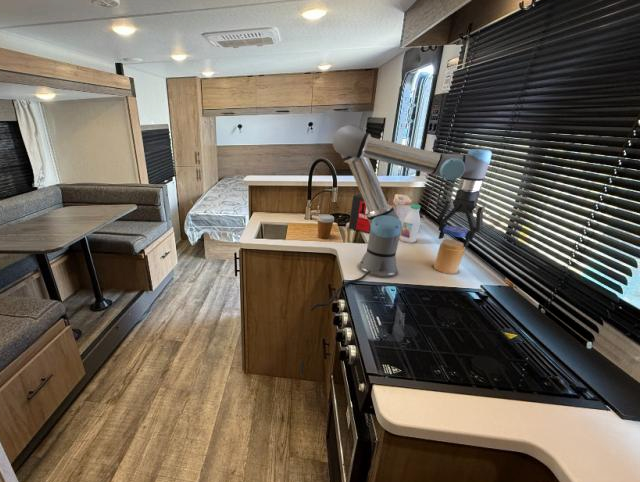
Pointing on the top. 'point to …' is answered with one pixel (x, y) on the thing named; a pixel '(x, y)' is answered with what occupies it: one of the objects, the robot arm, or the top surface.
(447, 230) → the jar lid
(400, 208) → the coffeecake box
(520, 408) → the top surface
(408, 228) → the milk bottle
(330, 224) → the disposable coffee cup
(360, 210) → the cleaning product box
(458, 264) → the jam jar
